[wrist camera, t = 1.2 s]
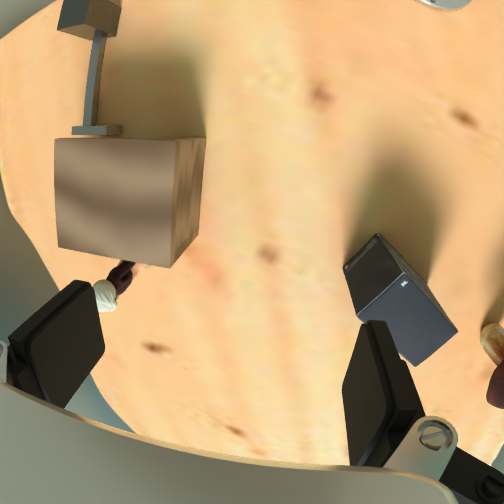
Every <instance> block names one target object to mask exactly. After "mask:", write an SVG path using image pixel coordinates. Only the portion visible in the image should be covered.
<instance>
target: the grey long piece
mask: <svg viewBox="0 0 504 504" xmlns="http://www.w3.org/2000/svg"><path fill="white" fill-rule="evenodd" d="M120 13H121V8H120V7H118V6H116V5H115V4H113V3H111V2H109V1H108V0H64V1H63V5H62V9H61V13H60V18H59V22H58V27H57V30H58V31H62V32H65V33H68V34H72V35H75V36H78V37H81V38H84V39H88V40H93V44H92V50H91V56H90V63H89V70H88V78H87V86H86V96H85V106H84V119H83V126H74V127H72V135H110V134H121V128H122V125H96V118H97V106H98V96H99V86H100V78H101V70H102V63H103V56H104V50H105V44H106V38H108V37H115V36H116V34H117V28H118V23H119V18H120Z"/></svg>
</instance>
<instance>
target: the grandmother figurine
mask: <svg viewBox="0 0 504 504" xmlns="http://www.w3.org/2000/svg"><path fill="white" fill-rule="evenodd" d="M150 266H151V265H148V264H143V263H137V262H132V261H127V260H120V262H119V264H118V266H117V267H115V268H113V269H112V270H111V271H110V273H109V275H108V277H107V279H106V280H99V281H97V282H96V283H95V284H94V285H93V288H94V290H95V296H96V302H97V308H98V311H100V312H107V311H110V312H111V311H114V310H115V309H116V307H117V302H116V300H117V299H118V298H119V295H120V294H122V293H123V292H124V291H125V290H126V289H127V288H128V286H129V285H130V284H131V282H132V280H133V279H134V278H135V277H136V276H137V274H138V272H139V271H141V270H142V269H144V268H149V267H150Z"/></svg>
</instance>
